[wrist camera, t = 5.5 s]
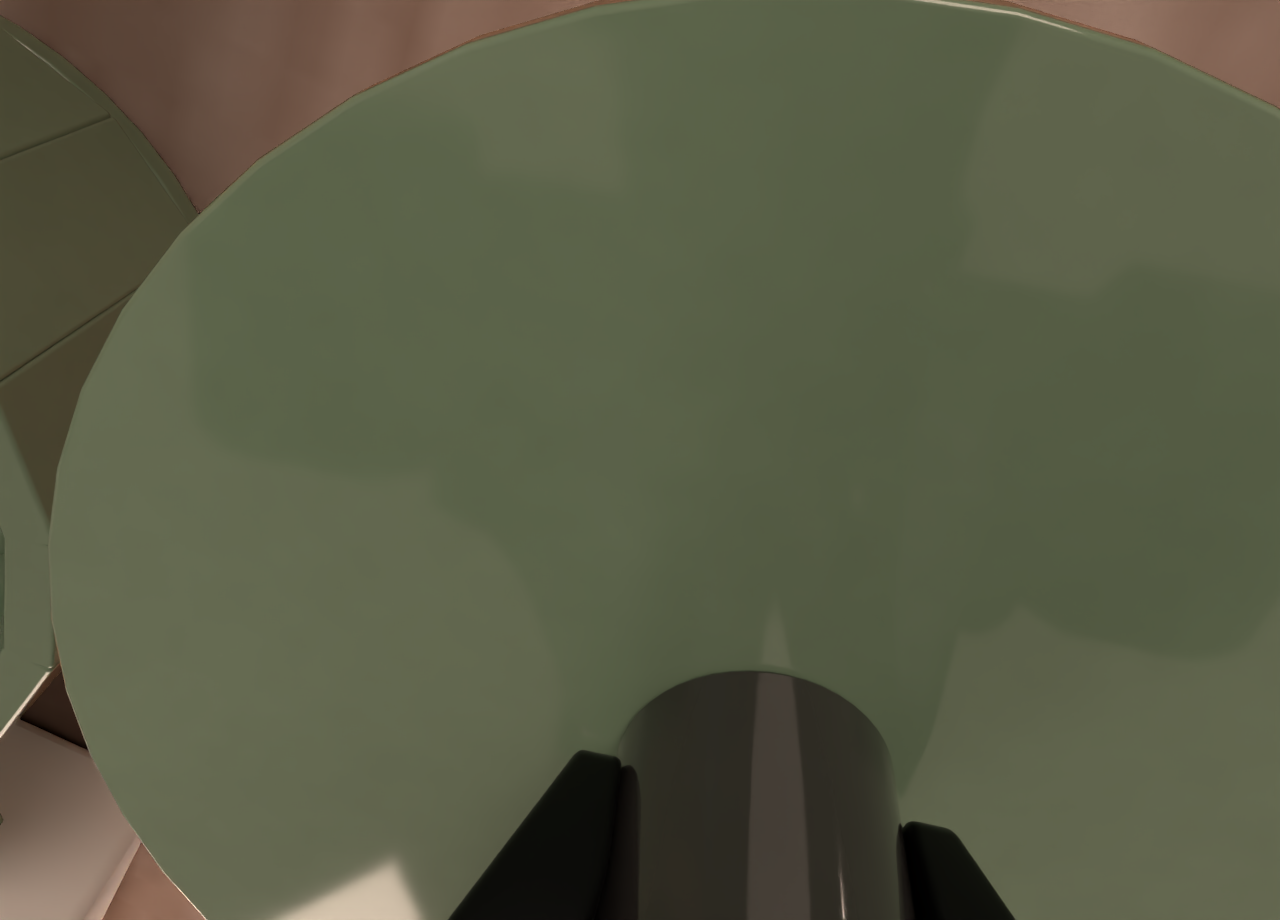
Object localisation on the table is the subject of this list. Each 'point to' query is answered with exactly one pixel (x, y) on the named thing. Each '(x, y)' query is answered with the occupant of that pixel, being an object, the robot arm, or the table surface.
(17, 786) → the medicine bottle
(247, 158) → the table surface
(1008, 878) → the lid
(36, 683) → the cooking pot
